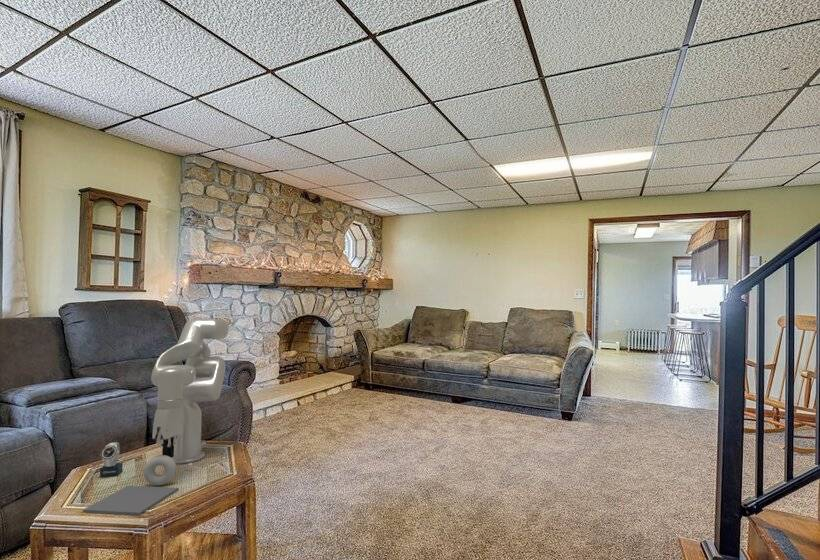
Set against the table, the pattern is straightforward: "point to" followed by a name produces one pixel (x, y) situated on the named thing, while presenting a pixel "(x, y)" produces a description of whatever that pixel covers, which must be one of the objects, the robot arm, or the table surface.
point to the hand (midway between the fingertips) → (167, 457)
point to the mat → (131, 500)
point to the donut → (155, 478)
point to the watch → (111, 461)
